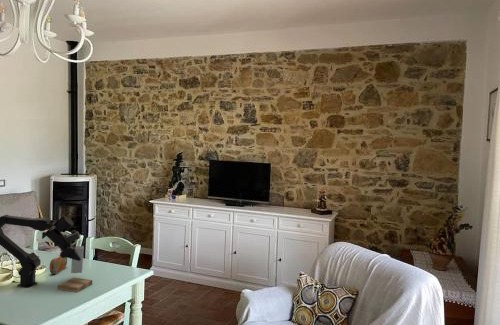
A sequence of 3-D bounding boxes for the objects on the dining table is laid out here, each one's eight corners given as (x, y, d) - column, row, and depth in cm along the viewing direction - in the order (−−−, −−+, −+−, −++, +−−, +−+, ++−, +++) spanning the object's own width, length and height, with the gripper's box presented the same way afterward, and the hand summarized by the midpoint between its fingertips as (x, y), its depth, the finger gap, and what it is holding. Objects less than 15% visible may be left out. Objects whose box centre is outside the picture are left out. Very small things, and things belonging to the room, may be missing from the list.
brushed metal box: (81, 272, 197) (82, 248, 197) (70, 273, 196) (71, 249, 195) (82, 269, 202) (83, 246, 202) (71, 270, 200) (72, 246, 200)
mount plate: (77, 292, 188) (77, 288, 188) (57, 289, 190) (57, 285, 190) (92, 283, 199) (92, 280, 199) (73, 281, 202) (73, 277, 202)
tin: (53, 276, 208) (54, 260, 207) (48, 275, 208) (48, 260, 207) (67, 267, 223) (67, 252, 222) (62, 266, 223) (62, 252, 222)
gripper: (68, 231, 188) (91, 252, 192) (72, 222, 205) (93, 242, 210) (49, 247, 185) (73, 268, 190) (55, 237, 203) (77, 257, 207)
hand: (80, 258), depth 199 cm, fingers closed on brushed metal box, 5 cm apart
